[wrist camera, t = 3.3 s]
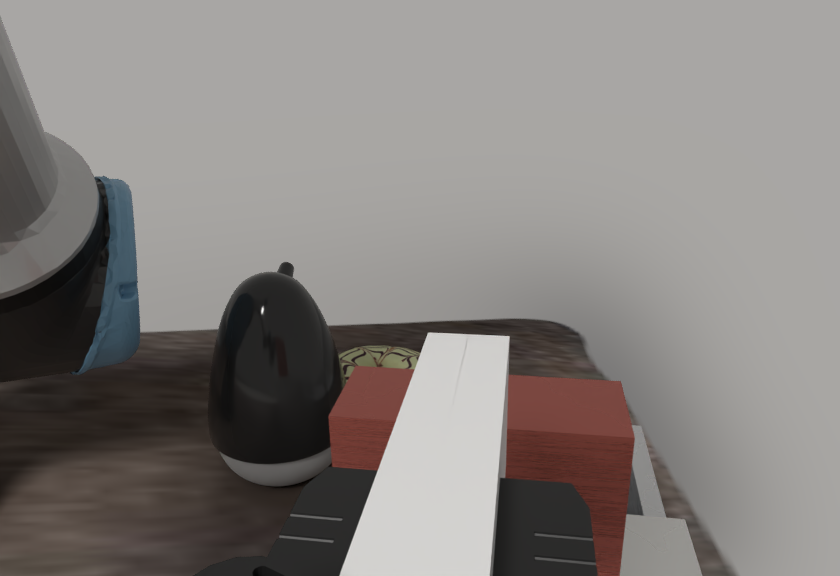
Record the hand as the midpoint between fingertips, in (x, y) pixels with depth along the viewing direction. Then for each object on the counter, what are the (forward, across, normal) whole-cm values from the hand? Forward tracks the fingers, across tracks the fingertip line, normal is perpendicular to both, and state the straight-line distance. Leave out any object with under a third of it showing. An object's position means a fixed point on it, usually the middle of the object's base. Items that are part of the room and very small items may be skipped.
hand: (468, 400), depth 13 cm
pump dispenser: (+30, -16, -23) cm, 41 cm away
